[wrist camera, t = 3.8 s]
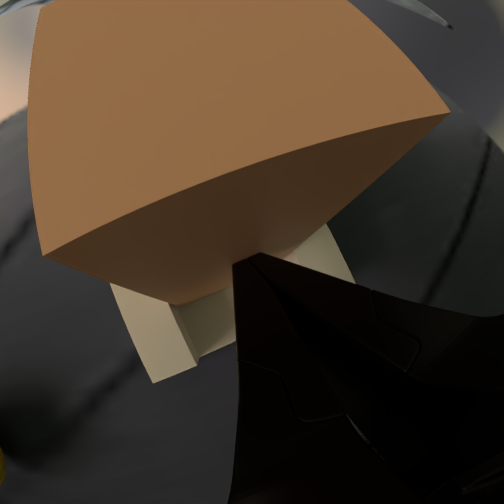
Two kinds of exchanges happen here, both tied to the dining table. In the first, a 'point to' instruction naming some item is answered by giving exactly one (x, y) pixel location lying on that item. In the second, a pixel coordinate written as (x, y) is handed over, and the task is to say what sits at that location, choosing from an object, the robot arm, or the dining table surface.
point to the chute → (206, 314)
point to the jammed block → (208, 132)
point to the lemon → (2, 466)
